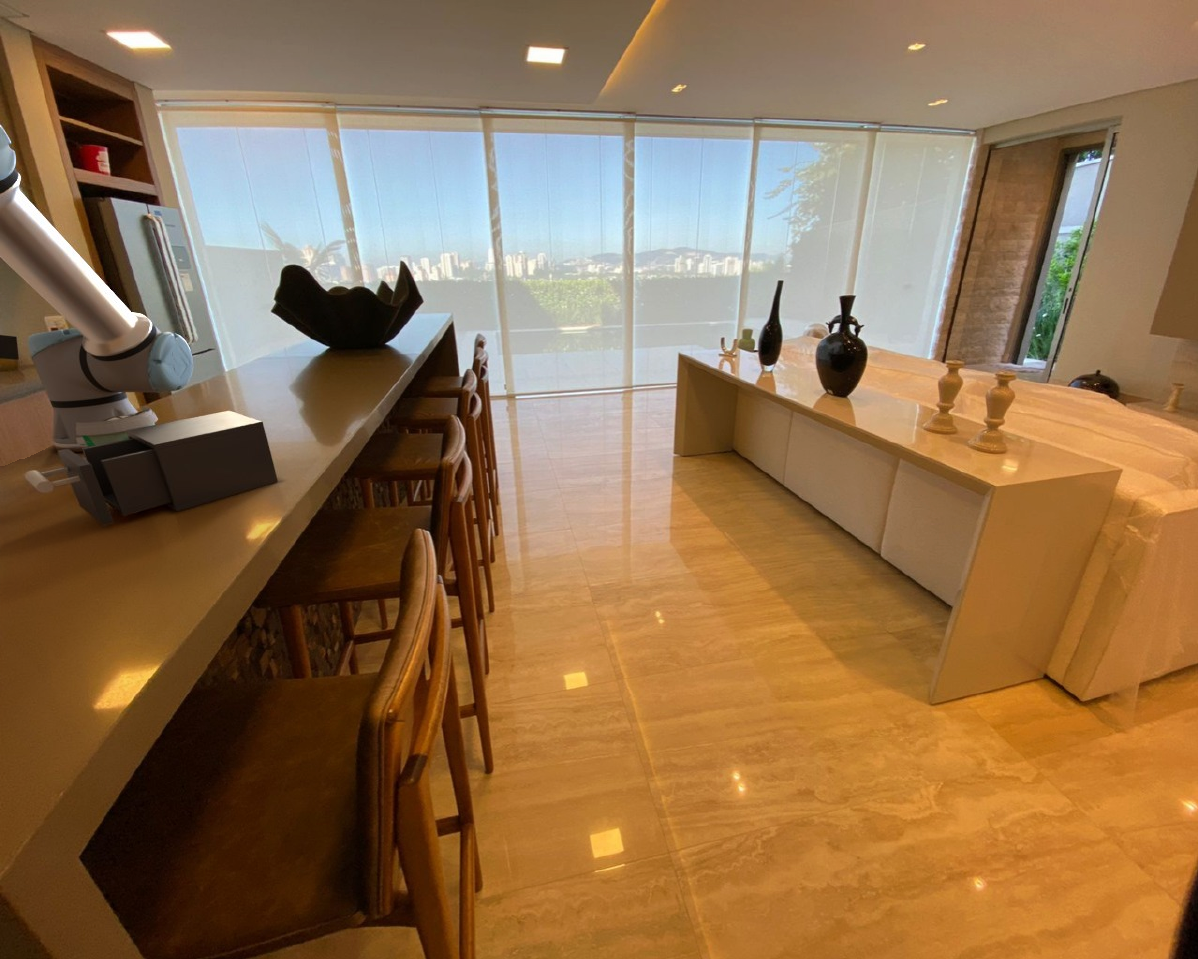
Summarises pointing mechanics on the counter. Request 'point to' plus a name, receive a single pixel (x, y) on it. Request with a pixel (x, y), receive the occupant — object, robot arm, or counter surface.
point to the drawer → (110, 478)
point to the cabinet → (209, 456)
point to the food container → (114, 427)
